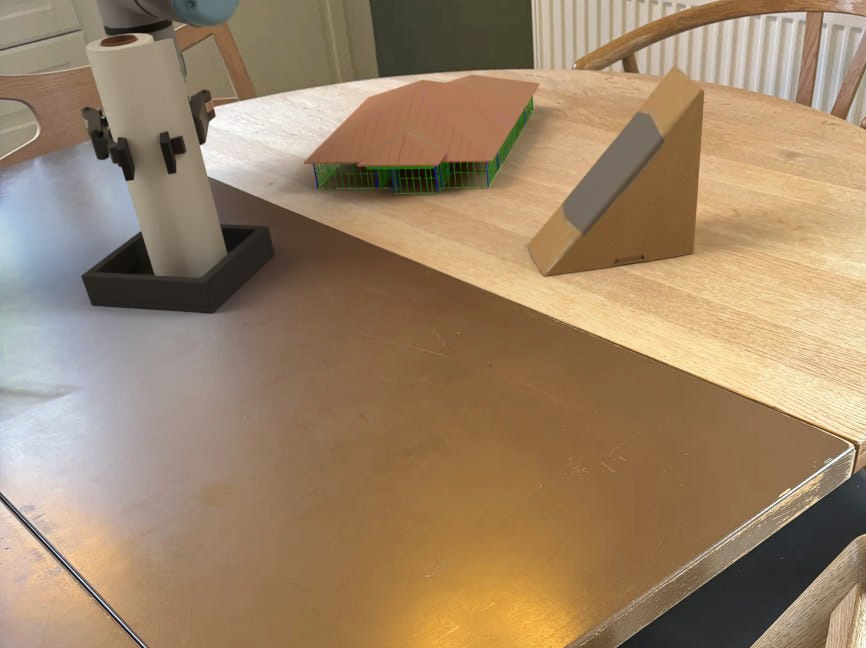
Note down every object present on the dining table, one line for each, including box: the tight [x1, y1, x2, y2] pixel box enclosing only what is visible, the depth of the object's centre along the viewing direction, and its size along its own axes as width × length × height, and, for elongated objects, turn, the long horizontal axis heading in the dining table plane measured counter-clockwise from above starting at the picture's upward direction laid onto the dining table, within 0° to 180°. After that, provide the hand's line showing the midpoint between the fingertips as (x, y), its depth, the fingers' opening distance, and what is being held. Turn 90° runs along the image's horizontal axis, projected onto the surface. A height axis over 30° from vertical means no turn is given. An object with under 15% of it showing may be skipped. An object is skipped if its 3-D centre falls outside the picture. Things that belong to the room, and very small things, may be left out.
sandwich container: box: [526, 64, 705, 277], centre depth 97 cm, size 9×15×15 cm, turn 100°
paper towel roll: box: [84, 33, 227, 278], centre depth 98 cm, size 7×6×21 cm
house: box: [303, 74, 540, 195], centre depth 127 cm, size 23×33×8 cm
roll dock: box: [80, 223, 276, 314], centre depth 104 cm, size 14×14×3 cm
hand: (146, 161), depth 93 cm, fingers closed on paper towel roll, 3 cm apart
